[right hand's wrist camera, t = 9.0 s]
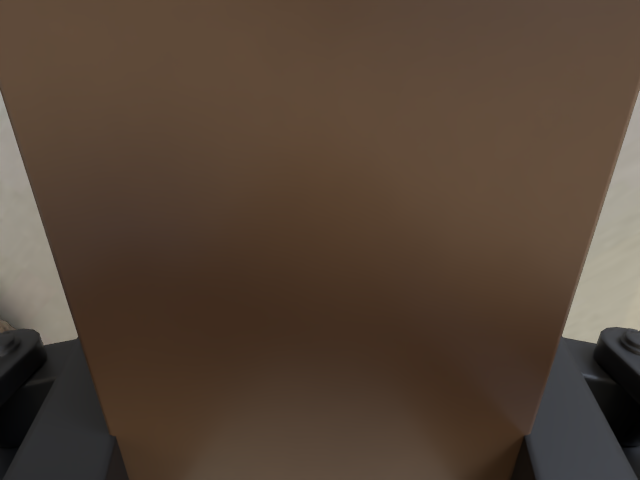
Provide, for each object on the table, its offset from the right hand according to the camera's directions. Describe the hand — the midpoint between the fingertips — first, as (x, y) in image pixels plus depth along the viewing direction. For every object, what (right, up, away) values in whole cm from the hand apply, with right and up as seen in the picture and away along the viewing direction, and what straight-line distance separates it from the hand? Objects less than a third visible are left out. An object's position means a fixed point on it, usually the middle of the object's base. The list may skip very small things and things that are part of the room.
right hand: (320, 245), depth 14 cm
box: (0, +8, -2) cm, 8 cm away
